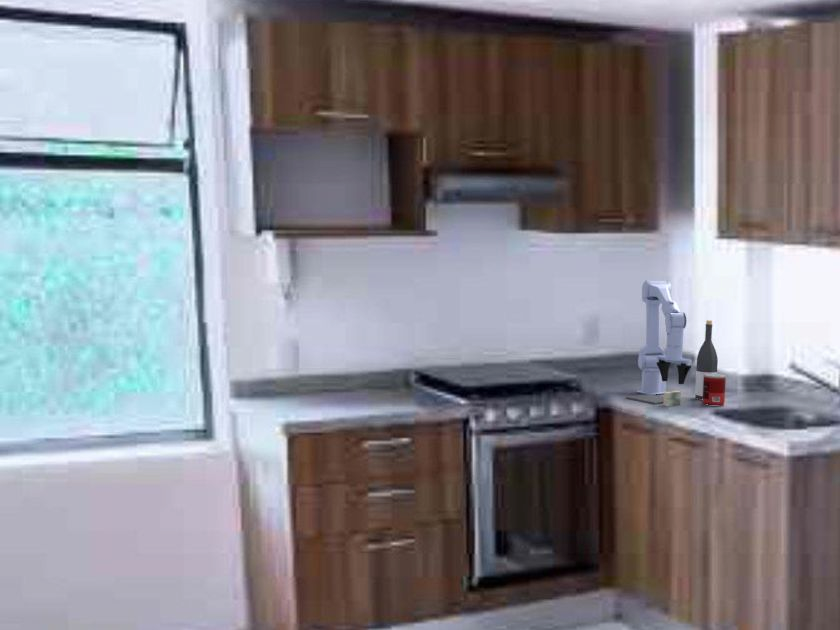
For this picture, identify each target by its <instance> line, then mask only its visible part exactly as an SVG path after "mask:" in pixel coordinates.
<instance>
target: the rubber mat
mask: <svg viewBox="0 0 840 630" xmlns="http://www.w3.org/2000/svg"><path fill="white" fill-rule="evenodd" d="M625 398H626V399H627V400H632V401H638V402H642V403H646V404H650V405H660V404H659V403H662V404H663V403H664V396H661V395H658V394H657V395H652V394H639V395H638V394H637V395H630V396H626V397H625Z"/></svg>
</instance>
